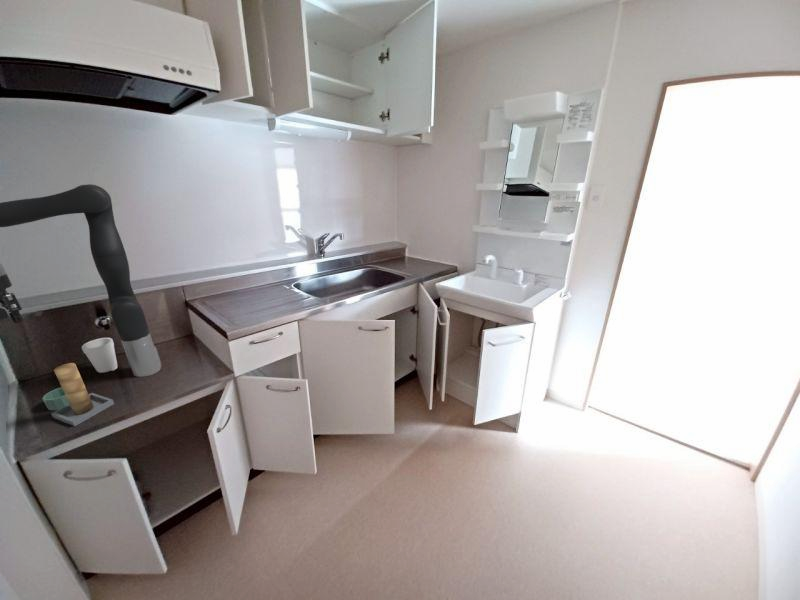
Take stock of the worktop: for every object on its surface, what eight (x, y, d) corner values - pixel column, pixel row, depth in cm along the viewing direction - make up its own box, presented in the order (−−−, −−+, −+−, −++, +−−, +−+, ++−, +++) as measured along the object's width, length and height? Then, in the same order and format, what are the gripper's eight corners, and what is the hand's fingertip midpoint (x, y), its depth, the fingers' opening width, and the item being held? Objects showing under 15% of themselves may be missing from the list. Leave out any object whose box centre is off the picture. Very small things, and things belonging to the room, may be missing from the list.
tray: (54, 419, 106) (51, 413, 105) (94, 397, 116) (91, 392, 115) (75, 427, 102) (72, 421, 102) (114, 404, 113) (112, 399, 112)
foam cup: (119, 360, 139) (109, 335, 134) (124, 368, 134) (114, 342, 129) (91, 370, 132) (79, 343, 127) (95, 378, 127) (83, 351, 122)
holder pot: (62, 397, 116) (56, 386, 114) (84, 396, 117) (79, 385, 115) (42, 412, 109) (36, 400, 107) (66, 410, 110) (60, 399, 108)
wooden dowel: (82, 405, 111) (63, 363, 104) (97, 404, 111) (79, 362, 105) (70, 415, 106) (49, 371, 100) (85, 414, 107) (66, 371, 100)
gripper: (17, 274, 100) (38, 319, 106) (-8, 269, 104) (15, 313, 110) (-19, 281, 93) (7, 328, 99) (-43, 276, 97) (-17, 321, 103)
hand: (11, 320), depth 105 cm, fingers open, 8 cm apart
